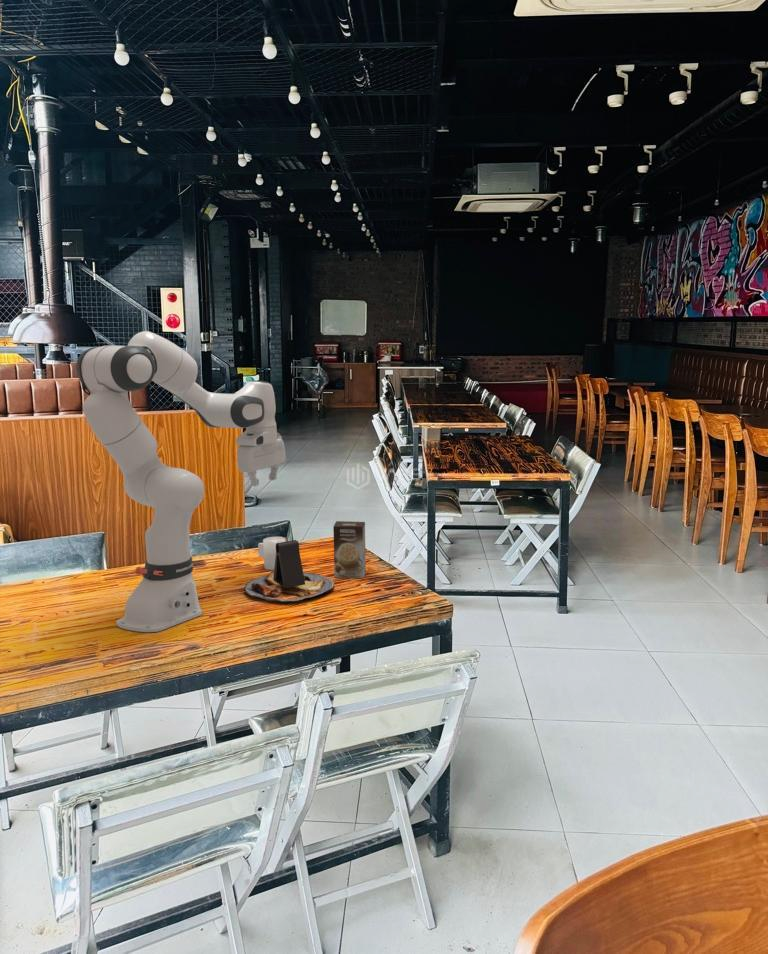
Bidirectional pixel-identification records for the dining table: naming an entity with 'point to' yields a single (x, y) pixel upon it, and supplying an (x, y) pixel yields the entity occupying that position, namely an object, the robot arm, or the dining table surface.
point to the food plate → (270, 588)
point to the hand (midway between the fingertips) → (264, 482)
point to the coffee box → (349, 549)
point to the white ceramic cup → (269, 551)
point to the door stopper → (288, 565)
